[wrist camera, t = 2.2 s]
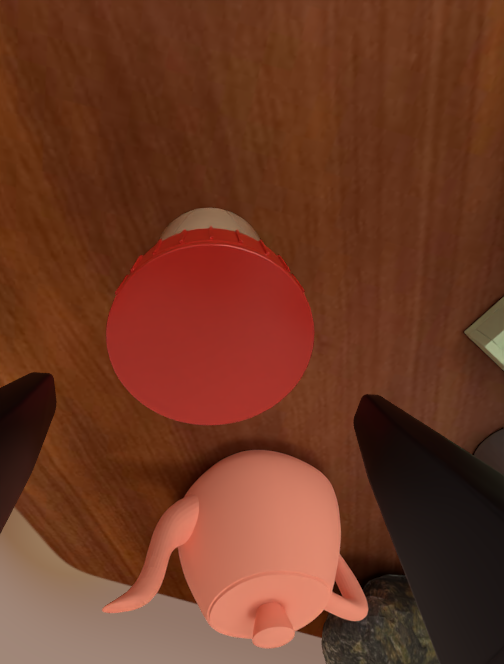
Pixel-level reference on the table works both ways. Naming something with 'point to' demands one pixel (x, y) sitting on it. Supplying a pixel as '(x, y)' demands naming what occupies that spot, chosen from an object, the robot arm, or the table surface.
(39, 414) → the robot arm
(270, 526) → the teapot
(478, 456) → the bottle
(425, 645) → the stone
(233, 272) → the jar lid
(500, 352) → the tray
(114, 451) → the table surface
